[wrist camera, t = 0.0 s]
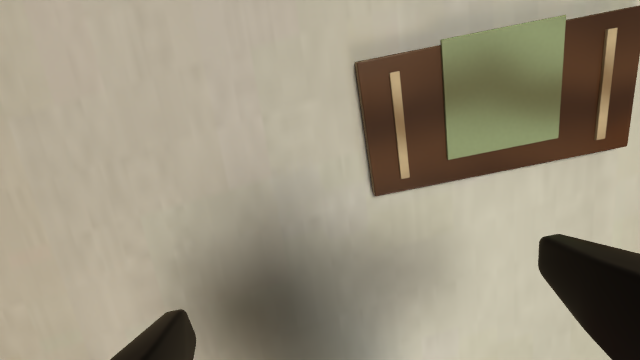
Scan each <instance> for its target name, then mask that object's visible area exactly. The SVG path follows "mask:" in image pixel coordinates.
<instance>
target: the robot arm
mask: <svg viewBox="0 0 640 360" xmlns="http://www.w3.org/2000/svg"><path fill="white" fill-rule="evenodd" d="M538 267H539V270H540V273H541V274H542V276H543V277H544V279H545V280H546V281H547V282H548V284H549V285H550V286H551V288H552V289H553V290H554V291H555V293H556V294H557V295H558V297H559V298H560V299H561V301H562V302H563V303H564V304H565V306H566V307H567V308H568V310H569V311H570V312H571V313H572V315H573V316H574V317H575V319H576V320H577V321H578V322H579V323H580V325H581V326H582V327H583V328H584V330H585V331H586V332H587V333H588V334H589V335H590V336H591V337H592V339H593V340H594V341H595V342H596V343H597V344H598V345H599V346H600V347H601V348H602V349H603V350H604V352H605V353H606V354H607V355H608V356H609V357H610V358H611V359H612V360H640V254H638V253H634V252H630V251H626V250H622V249H618V248H614V247H610V246H606V245H602V244H598V243H594V242H590V241H586V240H582V239H578V238H574V237H569V236H565V235H561V234H555V235H550V236H545V237H543V238H541V240H540V242H539V258H538ZM195 347H196V336H195V332H194V330H193V327H192V325H191V323H190V320H189V318H188V315H187V313H186V312H185V311H184V310H182V309H180V310H175V311H170V312H167V313H165V314H164V315H163V316H161V317H160V318H159V319H158V320H157V321H155V322H154V323H153V324H152V325H151V326H149V327H148V328H147V329H146V330H145V331H144V332H142V333H141V334H140V335H139V336H138V337H136V338H135V339H134V340H133V341H132V342H131V343H129V344H128V345H127V346H126V347H125V348H123V349H122V350H121V351H120V352H119V353H117V354H116V355H115V356H114V357H113V358H112V359H110V360H193V358H194V352H195Z"/></svg>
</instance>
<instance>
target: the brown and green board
mask: <svg viewBox="0 0 640 360" xmlns="http://www.w3.org/2000/svg"><path fill="white" fill-rule="evenodd" d="M440 42H441V45H439V46H434V47H429V48H424V49H419V50H414V51H408V52H403V53H398V54H393V55H388V56H383V57H378V58H373V59H368V60H363V61H358V62H355V70H356V77H357V84H358V91H359V98H360V105H361V112H362V119H363V126H364V133H365V140H366V147H367V154H368V161H369V168H370V175H371V182H372V189H373V193H374V195H375V196H380V195H385V194H390V193H395V192H400V191H405V190H410V189H415V188H420V187H425V186H430V185H435V184H440V183H445V182H450V181H455V180H460V179H465V178H470V177H475V176H480V175H485V174H490V173H495V172H500V171H505V170H510V169H515V168H520V167H525V166H530V165H535V164H540V163H545V162H550V161H555V160H560V159H565V158H570V157H575V156H580V155H585V154H590V153H595V152H600V151H605V150H610V149H615V148H620V147H625V146H627V143H628V135H629V128H630V121H631V114H632V106H633V99H634V92H635V85H636V77H637V70H638V63H639V56H640V6H634V7H629V8H624V9H619V10H614V11H609V12H604V13H599V14H594V15H589V16H584V17H579V18H574V19H569V20H566V15H563V16H558V17H553V18H548V19H543V20H538V21H533V22H528V23H523V24H518V25H513V26H508V27H503V28H498V29H492V30H487V31H482V32H477V33H472V34H467V35H462V36H457V37H452V38H447V39H442V40H440Z"/></svg>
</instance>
